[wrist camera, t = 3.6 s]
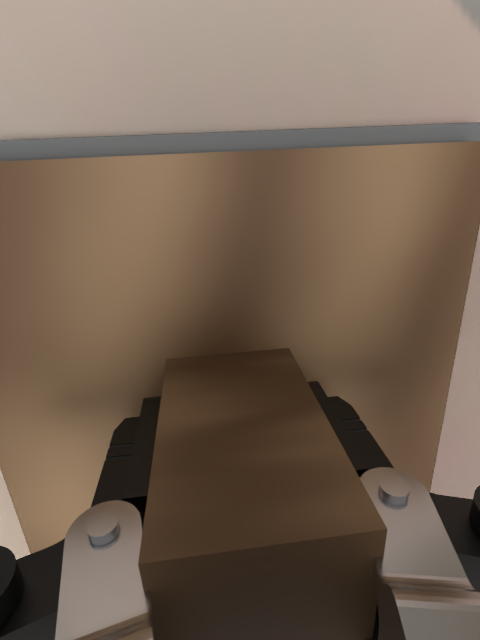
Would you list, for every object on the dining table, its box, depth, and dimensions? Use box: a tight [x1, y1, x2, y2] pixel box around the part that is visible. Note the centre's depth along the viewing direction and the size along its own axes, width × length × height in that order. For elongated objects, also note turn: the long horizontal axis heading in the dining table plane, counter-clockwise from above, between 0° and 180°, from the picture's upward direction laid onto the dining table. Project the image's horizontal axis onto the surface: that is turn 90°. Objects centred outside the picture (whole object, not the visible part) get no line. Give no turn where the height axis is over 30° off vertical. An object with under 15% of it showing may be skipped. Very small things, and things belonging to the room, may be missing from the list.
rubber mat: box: [0, 122, 480, 161], centre depth 13 cm, size 15×15×1 cm
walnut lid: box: [0, 141, 480, 640], centre depth 9 cm, size 14×14×7 cm
